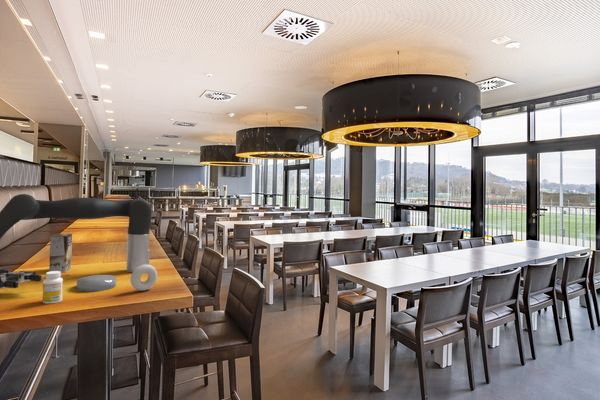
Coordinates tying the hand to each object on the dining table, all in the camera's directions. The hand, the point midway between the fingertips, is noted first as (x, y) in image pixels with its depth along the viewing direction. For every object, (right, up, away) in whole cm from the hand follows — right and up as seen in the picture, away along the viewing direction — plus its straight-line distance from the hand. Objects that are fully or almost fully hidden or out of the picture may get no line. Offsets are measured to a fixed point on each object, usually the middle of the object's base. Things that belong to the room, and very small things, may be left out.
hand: (29, 281), depth 115 cm
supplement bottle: (+9, -7, -1) cm, 11 cm away
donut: (+32, -7, +15) cm, 36 cm away
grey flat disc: (+13, -6, +17) cm, 22 cm away
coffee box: (-16, -4, +39) cm, 42 cm away
